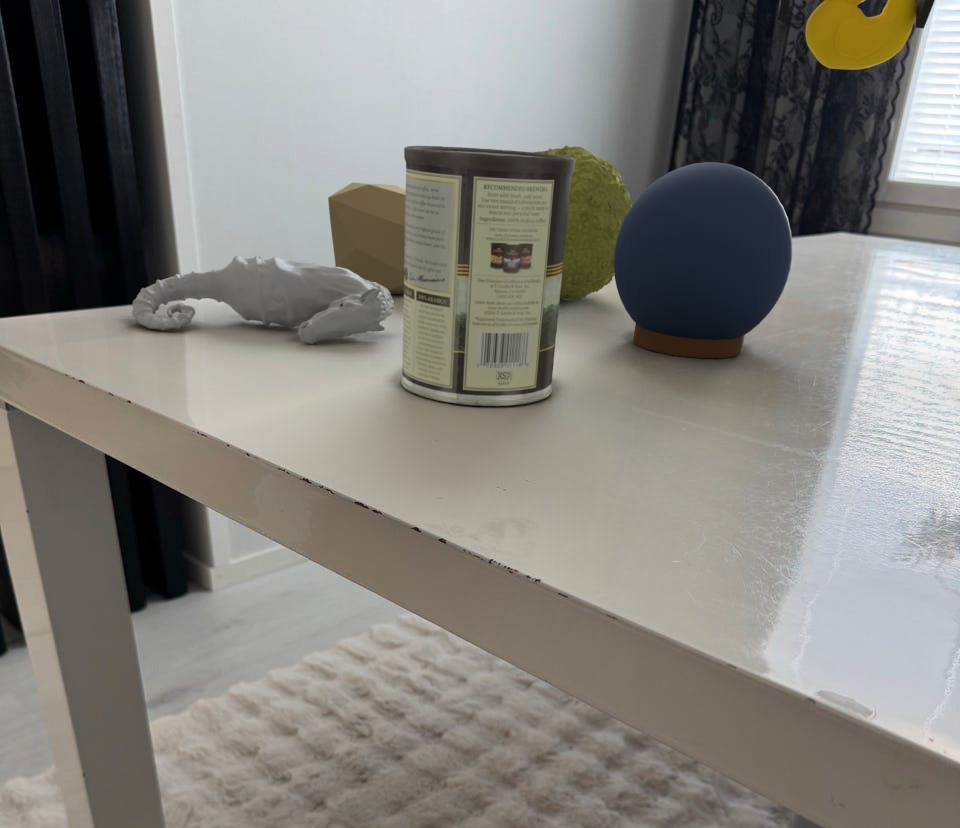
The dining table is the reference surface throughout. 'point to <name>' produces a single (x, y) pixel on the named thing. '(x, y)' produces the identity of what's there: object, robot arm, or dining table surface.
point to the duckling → (858, 33)
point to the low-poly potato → (370, 232)
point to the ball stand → (702, 260)
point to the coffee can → (482, 272)
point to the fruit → (591, 222)
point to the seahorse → (274, 297)
